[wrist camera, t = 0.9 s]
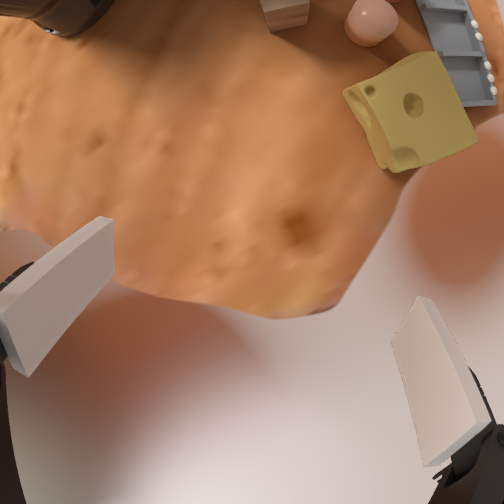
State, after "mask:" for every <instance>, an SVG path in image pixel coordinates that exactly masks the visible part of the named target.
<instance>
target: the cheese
mask: <svg viewBox="0 0 504 504" xmlns="http://www.w3.org/2000/svg"><path fill="white" fill-rule="evenodd" d="M342 95H343V97H344V98H345V100H346V102H347V103H348V105H349V107H350V109H351V110H352V112H353V114H354V115H355V117H356V119H357V120H358V122H359V123H360V124H361V126H362V127H363V129H364V131H365V133H366V135H367V141H368V143H369V145H370V147H371V150H372V152H373V155H374V157H375V160H376V162H377V164H378V166H379V167H380V168H382V169H387V168H389V169H390V170H391V172H393V173H400V172H403V171H405V170H408V169H412V168H418V167H422V166H426V165H429V164H432V163H434V162H436V161H439V160H441V159H443V158H445V157H448V156H450V155H452V154H455V153H458V152H460V151H462V150H464V149H467V148H468V147H471V146H472V145H474V144H475V143H477V142H478V137H477V135H476V132H475V130H474V128H473V126H472V124H471V122H470V120H469V118H468V116H467V114H466V112H465V109H464V107H463V105H462V103H461V100H460V98H459V96H458V94H457V91H456V89H455V87H454V85H453V83H452V81H451V79H450V77H449V75H448V73H447V71H446V69H445V67H444V65H443V63H442V61H441V59H440V57H439V55H438V53H437V52H434V51H421V52H417V53H415V54H412V55H410V56H407V57H405V58H403V59H402V60H400V61H398V62H396V63H395V64H393V65H392V66H391V67H389V68H388V69H386V70H385V71H383V72H381V73H380V74H378V75H376V76H375V77H373V78H370V79H367V80H364V81H362V82H359V83H356V84H354V85H352V86H350V87H348V88H345V89H344V90H343V91H342Z"/></svg>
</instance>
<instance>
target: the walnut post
mask: <svg viewBox="0 0 504 504" xmlns="http://www.w3.org/2000/svg"><path fill="white" fill-rule="evenodd" d="M259 3H260V6H261V9H262V11H263V14H264V16H265V19H266V22H267V24H268V27H269V30H270V33H272V32H276V31H280V30H285V29H289V28H294V27H298V26H303V25H307V21H308V15H309V8H310V1H309V0H259Z"/></svg>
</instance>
